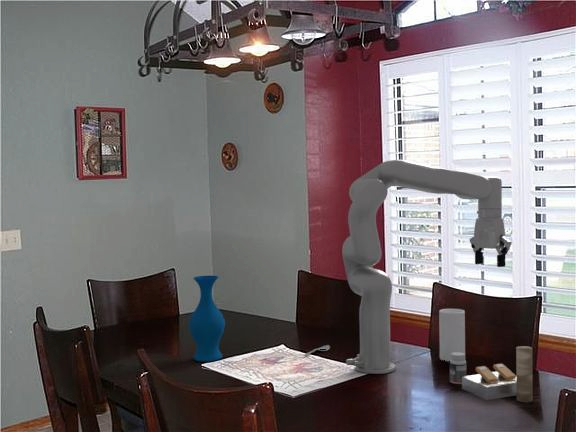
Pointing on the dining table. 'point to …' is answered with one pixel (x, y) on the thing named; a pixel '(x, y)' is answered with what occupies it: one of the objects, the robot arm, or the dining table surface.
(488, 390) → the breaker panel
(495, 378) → the paddle
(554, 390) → the dining table surface
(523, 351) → the dowel post
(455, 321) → the white tall cylinder
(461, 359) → the pill bottle
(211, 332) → the vase
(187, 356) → the dining table surface
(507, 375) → the paddle
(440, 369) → the dining table surface
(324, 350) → the spoon
